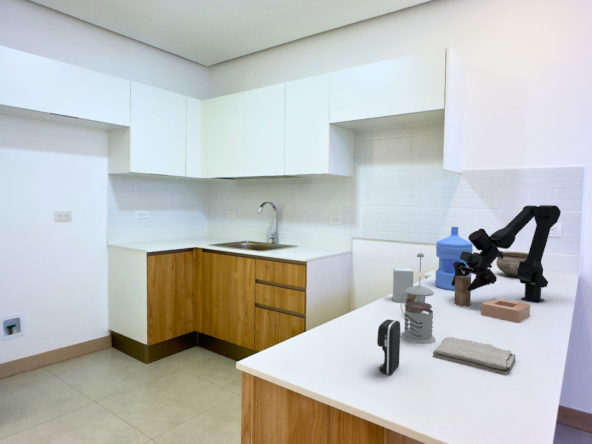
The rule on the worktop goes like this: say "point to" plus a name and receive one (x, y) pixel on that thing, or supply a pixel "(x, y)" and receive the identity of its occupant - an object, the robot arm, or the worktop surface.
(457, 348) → the washcloth
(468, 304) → the peg
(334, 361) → the worktop surface
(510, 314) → the socket
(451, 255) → the water jug
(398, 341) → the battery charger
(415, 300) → the tin
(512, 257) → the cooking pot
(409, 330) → the french press
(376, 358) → the worktop surface
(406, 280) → the supplement box
